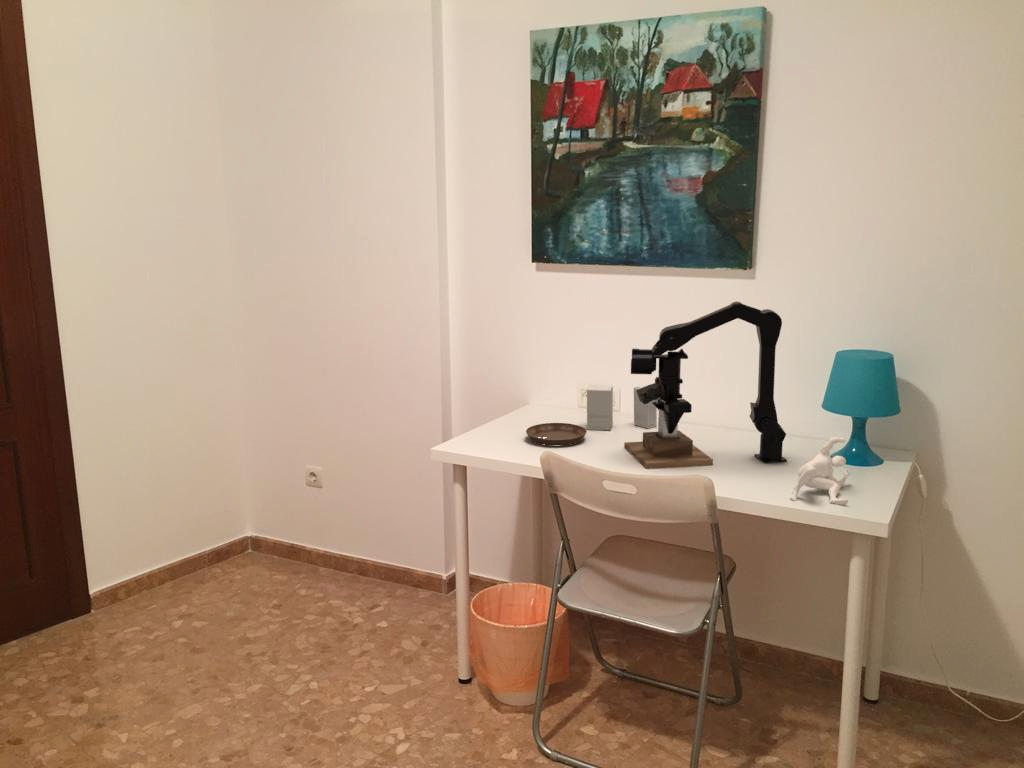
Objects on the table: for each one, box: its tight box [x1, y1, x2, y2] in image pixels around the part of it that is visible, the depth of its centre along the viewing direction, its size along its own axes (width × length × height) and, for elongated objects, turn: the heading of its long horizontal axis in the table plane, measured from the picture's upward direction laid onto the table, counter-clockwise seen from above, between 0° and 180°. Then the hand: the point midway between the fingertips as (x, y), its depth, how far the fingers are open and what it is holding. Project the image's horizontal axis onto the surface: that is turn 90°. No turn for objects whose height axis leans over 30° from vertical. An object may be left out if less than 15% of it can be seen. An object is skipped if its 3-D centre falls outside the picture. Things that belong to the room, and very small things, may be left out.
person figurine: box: [789, 436, 852, 506], centre depth 196 cm, size 13×13×18 cm
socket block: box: [623, 430, 714, 470], centre depth 226 cm, size 20×18×6 cm
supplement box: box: [586, 384, 614, 431], centre depth 256 cm, size 7×7×13 cm
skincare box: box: [633, 385, 658, 429], centre depth 257 cm, size 6×4×12 cm
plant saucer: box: [525, 422, 588, 446], centre depth 244 cm, size 18×18×3 cm
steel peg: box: [657, 408, 679, 440], centre depth 225 cm, size 4×4×10 cm
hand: (667, 431), depth 226 cm, fingers closed on steel peg, 4 cm apart
